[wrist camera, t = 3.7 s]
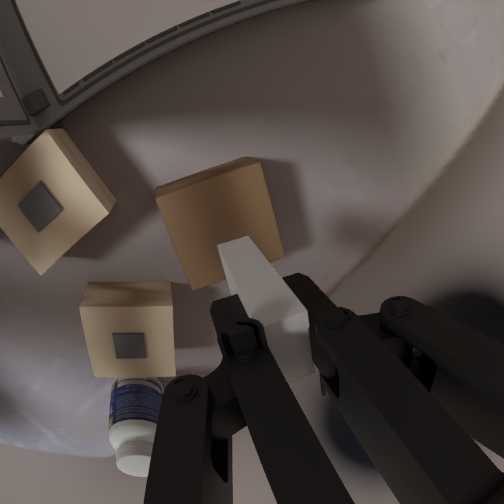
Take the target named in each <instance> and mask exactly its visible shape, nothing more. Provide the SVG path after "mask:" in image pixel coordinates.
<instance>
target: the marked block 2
mask: <svg viewBox="0 0 504 504" xmlns="http://www.w3.org/2000/svg"><path fill="white" fill-rule="evenodd" d="M79 310H80V315H81V321H82V325H83V330H84V335H85V339H86V344H87V348H88V352H89V356H90V360H91V364H92V368H93V372H94V376H95V377H109V378H143V377H176V368H175V350H174V327H173V302H172V292H171V282H88V284H87V286H86V289H85V291H84V294H83V297H82V299H81V302H80V305H79Z"/></svg>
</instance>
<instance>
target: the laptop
mask: <svg viewBox="0 0 504 504" xmlns="http://www.w3.org/2000/svg"><path fill="white" fill-rule="evenodd" d="M303 1H307V0H0V139H2V138H9V137H11V139H12V141H13V142H15V143H18V144H21V145H26V144H29V143H31V142H32V141H34V140H35V139H36V138H37V137H38V136H40V135H41V134H42V133H43V132H44V131H45V130H46V129H48V128H50V127H51V126H52V125H53V124H55V123H56V122H57V121H59V120H60V119H61V118H62V117H64V116H65V115H67V114H68V113H69V112H71V111H72V110H73V109H75V108H76V107H78V106H79V105H80V104H82V103H83V102H85V101H86V100H88V99H89V98H91V97H92V96H93V95H95V94H97V93H98V92H100V91H101V90H103V89H104V88H106V87H107V86H109V85H110V84H112V83H114V82H115V81H117V80H119V79H120V78H122V77H124V76H125V75H127V74H129V73H130V72H132V71H134V70H136V69H137V68H139V67H141V66H143V65H145V64H146V63H148V62H150V61H152V60H154V59H156V58H158V57H160V56H161V55H163V54H165V53H167V52H169V51H171V50H173V49H175V48H178V47H180V46H182V45H184V44H186V43H188V42H190V41H192V40H195V39H197V38H199V37H201V36H204V35H206V34H208V33H211V32H213V31H216V30H218V29H221V28H223V27H226V26H228V25H231V24H234V23H236V22H239V21H242V20H244V19H247V18H250V17H253V16H256V15H259V14H262V13H265V12H268V11H271V10H275V9H278V8H281V7H285V6H288V5H292V4H296V3H299V2H303Z"/></svg>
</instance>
